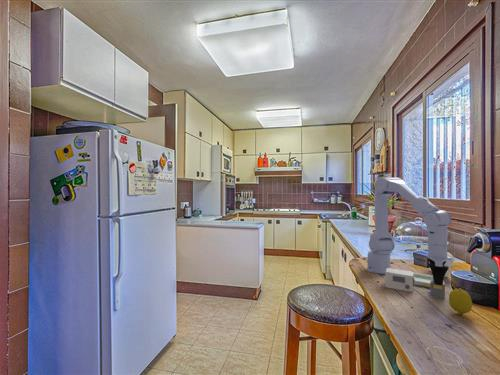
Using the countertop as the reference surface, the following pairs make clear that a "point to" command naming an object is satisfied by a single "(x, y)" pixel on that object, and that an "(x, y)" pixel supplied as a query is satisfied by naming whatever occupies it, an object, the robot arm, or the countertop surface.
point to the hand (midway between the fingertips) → (437, 281)
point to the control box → (400, 279)
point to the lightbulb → (449, 263)
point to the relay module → (437, 289)
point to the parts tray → (422, 280)
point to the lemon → (460, 301)
